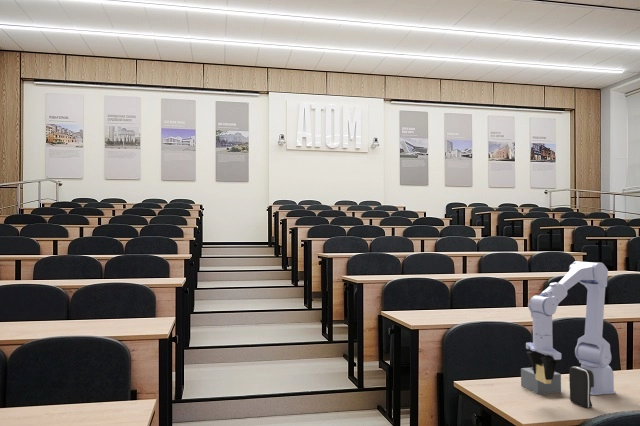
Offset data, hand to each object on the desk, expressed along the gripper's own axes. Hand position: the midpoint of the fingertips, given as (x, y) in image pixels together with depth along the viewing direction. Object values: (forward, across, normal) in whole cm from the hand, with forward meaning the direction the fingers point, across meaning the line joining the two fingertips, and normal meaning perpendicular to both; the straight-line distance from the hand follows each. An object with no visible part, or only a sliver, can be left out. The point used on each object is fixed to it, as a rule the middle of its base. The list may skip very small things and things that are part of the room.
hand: (543, 376), depth 155 cm
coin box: (+8, -12, +8) cm, 16 cm away
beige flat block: (+1, 0, 0) cm, 1 cm away
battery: (+8, +4, +11) cm, 14 cm away
